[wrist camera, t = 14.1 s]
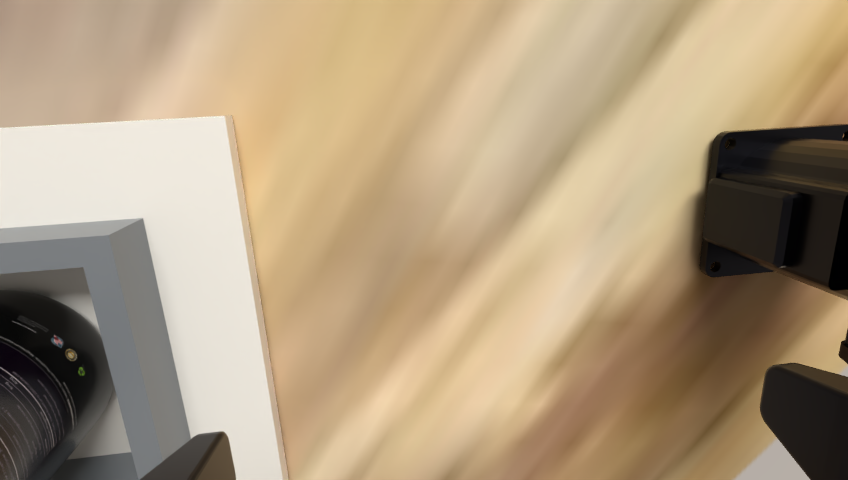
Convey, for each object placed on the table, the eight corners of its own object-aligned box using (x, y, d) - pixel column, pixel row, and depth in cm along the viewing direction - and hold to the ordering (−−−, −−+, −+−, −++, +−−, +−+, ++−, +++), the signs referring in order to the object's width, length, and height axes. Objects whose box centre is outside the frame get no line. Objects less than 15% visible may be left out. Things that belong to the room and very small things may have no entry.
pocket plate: (232, 115, 18) (202, 117, 15) (292, 500, 23) (279, 567, 20) (-312, 144, 16) (-486, 154, 13) (-121, 555, 21) (-212, 639, 18)
